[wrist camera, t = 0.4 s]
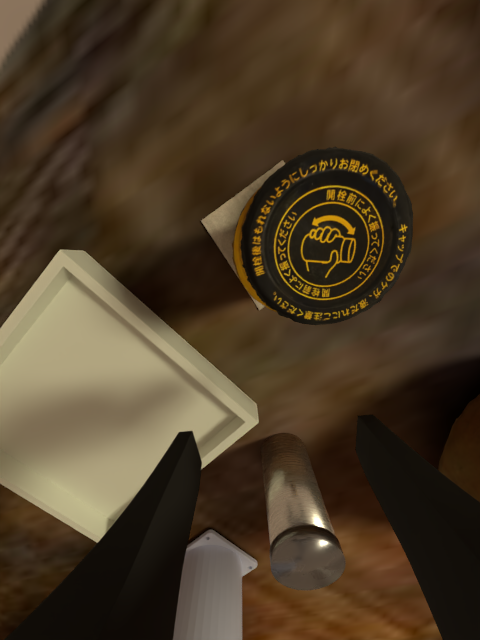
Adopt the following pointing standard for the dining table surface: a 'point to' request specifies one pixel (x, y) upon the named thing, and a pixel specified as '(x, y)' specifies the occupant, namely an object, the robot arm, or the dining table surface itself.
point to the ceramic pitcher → (464, 451)
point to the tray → (101, 395)
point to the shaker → (297, 518)
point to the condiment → (318, 235)
